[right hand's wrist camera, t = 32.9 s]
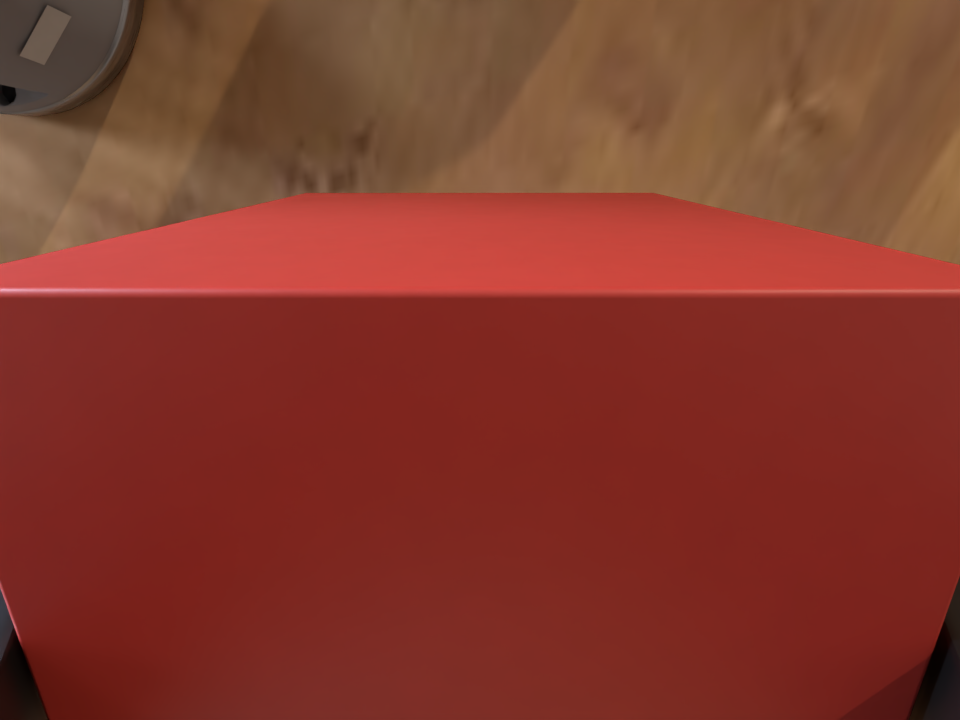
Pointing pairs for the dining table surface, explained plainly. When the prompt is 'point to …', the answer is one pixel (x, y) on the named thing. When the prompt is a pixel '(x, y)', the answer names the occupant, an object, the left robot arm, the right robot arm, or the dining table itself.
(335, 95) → the dining table surface
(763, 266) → the block
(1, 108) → the right robot arm
